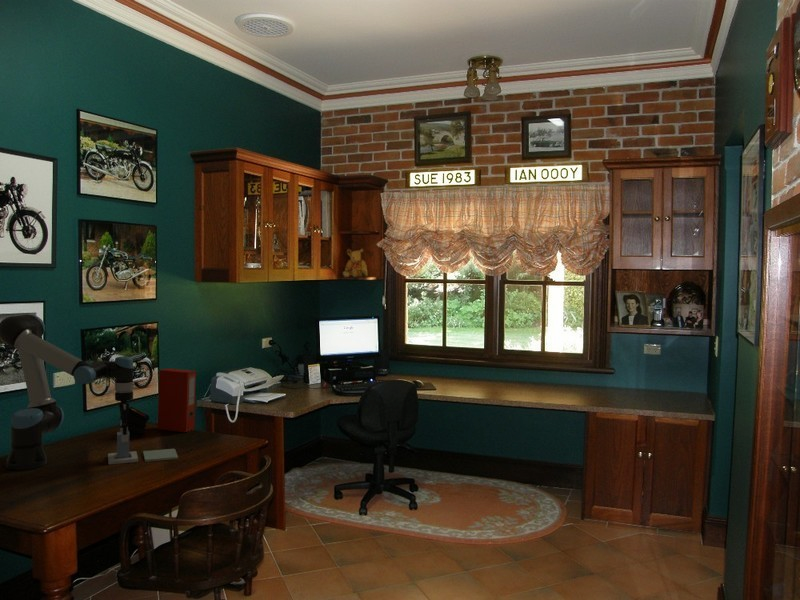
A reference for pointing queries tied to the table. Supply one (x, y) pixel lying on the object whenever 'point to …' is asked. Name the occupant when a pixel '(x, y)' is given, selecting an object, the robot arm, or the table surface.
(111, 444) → the table surface
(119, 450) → the slate block
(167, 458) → the pad
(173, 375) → the file binder
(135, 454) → the pocket collar
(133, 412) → the black slab
